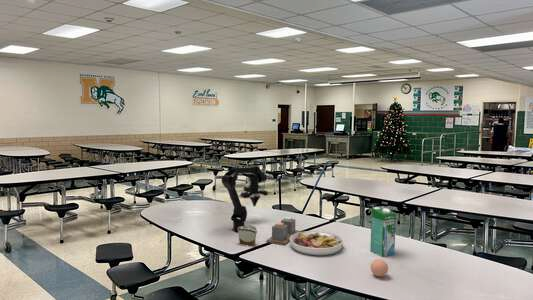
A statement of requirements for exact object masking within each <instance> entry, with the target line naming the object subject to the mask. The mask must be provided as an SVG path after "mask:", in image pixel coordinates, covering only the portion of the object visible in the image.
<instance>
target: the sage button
mask: <svg viewBox="0 0 533 300" xmlns="http://www.w3.org/2000/svg"><path fill="white" fill-rule="evenodd" d="M283 219H284V221H292V219H293V217H290V216H285V217H284V218H283Z"/></svg>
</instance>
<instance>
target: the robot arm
mask: <svg viewBox="0 0 533 300" xmlns="http://www.w3.org/2000/svg"><path fill="white" fill-rule="evenodd" d="M239 174H249V175H248V176H247V178H249V185H248V186H244V187H243V192H241V193H240V197H239V195H238V192H237V190H236V189H237V188H236V184H237V182H236V181H237V180H238V177H239ZM267 179H268V177H267V175H266V173H265V171H264V172H263V171H262V169H261V168H260V166H259V165H252V164H251V165H248V166H243V167H242V166H241V167H238V166H237V167H235V166H233V167H231V168H230V169H229V170H228V171H227V172H225V174H224V175H223V176H222V177H221V184H222V186H223V187H224V188H225V189H226V190H227V192H228V195H229V198H230V200H231V203H232V206H233V211H232V212H233V213H232V215H231V217H230V220H231V221H232V222H233V223H232V226H233V227H232V229H231V230H232V231H233V232H235V233H238V231H237V229H238V227H241V226H245V223H246V220H247V216H248V210H247V208H246V206H245V205H242V203H241V199H240V198H243V199H248V198H249V199H250V201H251V203H252V206H253V207H256V205H257V203H258V202H259V200H260V198H261V195H263V196H268V195H269V194H268V191H267V190H265V189H262V190H260V189H259V188H260V185H259V184H260V183H264V182H267Z"/></svg>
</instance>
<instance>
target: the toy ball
mask: <svg viewBox="0 0 533 300" xmlns="http://www.w3.org/2000/svg"><path fill="white" fill-rule="evenodd" d="M370 272H371V273H372V274H373V275H374V276H376V277H377V278H378V277H379V278H381V277H382V278H383V277H385V276H386V275H387V274H388V272H389V265H388V263H387V262H386V261H385V260H383V259H380V258H377V259H374V260H373V261H371V263H370Z"/></svg>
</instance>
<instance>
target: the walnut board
mask: <svg viewBox="0 0 533 300" xmlns="http://www.w3.org/2000/svg"><path fill="white" fill-rule="evenodd" d="M299 232H301V230H297V229H295V232H294V233H293V234H292V235H294V234H296V233H299ZM292 235H290V234H287V239H285V240H284V241H277V240H272V236H271V237H269V238H267V239H266V241H265V242H266V243H267V242H269V243H268V244H273V245H280V246H287V244H289V243H290V237H291V236H292Z"/></svg>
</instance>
